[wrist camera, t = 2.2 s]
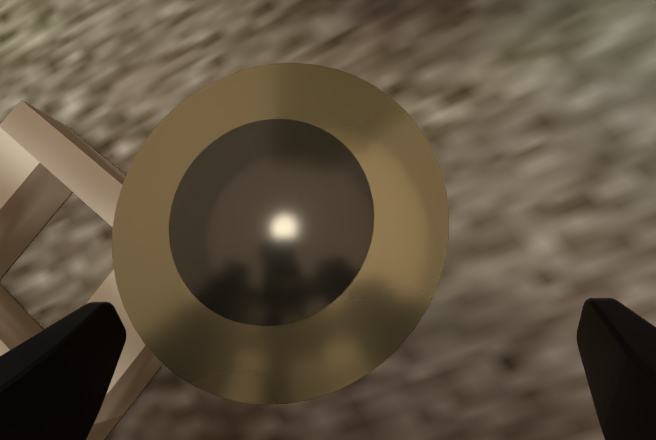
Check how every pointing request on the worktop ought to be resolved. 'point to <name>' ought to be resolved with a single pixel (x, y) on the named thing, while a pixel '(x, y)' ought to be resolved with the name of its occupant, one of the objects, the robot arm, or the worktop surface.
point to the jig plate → (31, 216)
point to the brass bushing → (280, 233)
